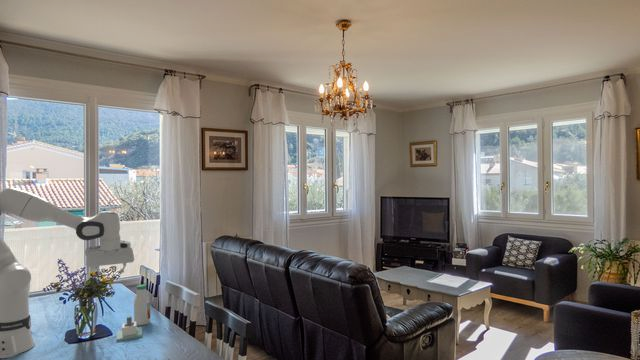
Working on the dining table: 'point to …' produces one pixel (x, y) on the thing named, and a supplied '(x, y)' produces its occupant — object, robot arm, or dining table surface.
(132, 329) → the beige square open box
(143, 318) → the milk bottle
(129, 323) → the post stand
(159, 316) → the dining table surface
